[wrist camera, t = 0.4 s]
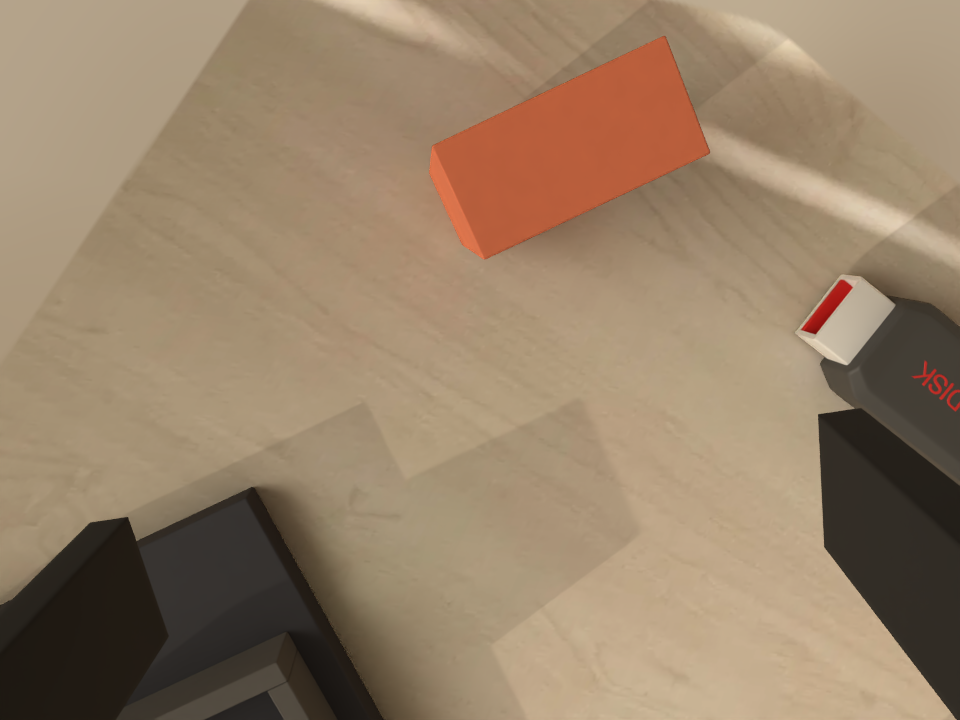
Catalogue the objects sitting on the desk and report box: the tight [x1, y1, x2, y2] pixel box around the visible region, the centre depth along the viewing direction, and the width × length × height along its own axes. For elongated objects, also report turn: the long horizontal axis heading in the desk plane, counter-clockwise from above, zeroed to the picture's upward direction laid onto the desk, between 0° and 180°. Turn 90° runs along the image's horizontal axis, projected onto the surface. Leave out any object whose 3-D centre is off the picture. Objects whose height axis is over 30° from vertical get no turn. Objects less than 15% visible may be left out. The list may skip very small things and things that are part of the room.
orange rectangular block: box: [429, 36, 710, 259], centre depth 27 cm, size 3×7×12 cm, turn 115°
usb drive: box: [795, 274, 960, 485], centre depth 34 cm, size 5×12×3 cm, turn 53°
